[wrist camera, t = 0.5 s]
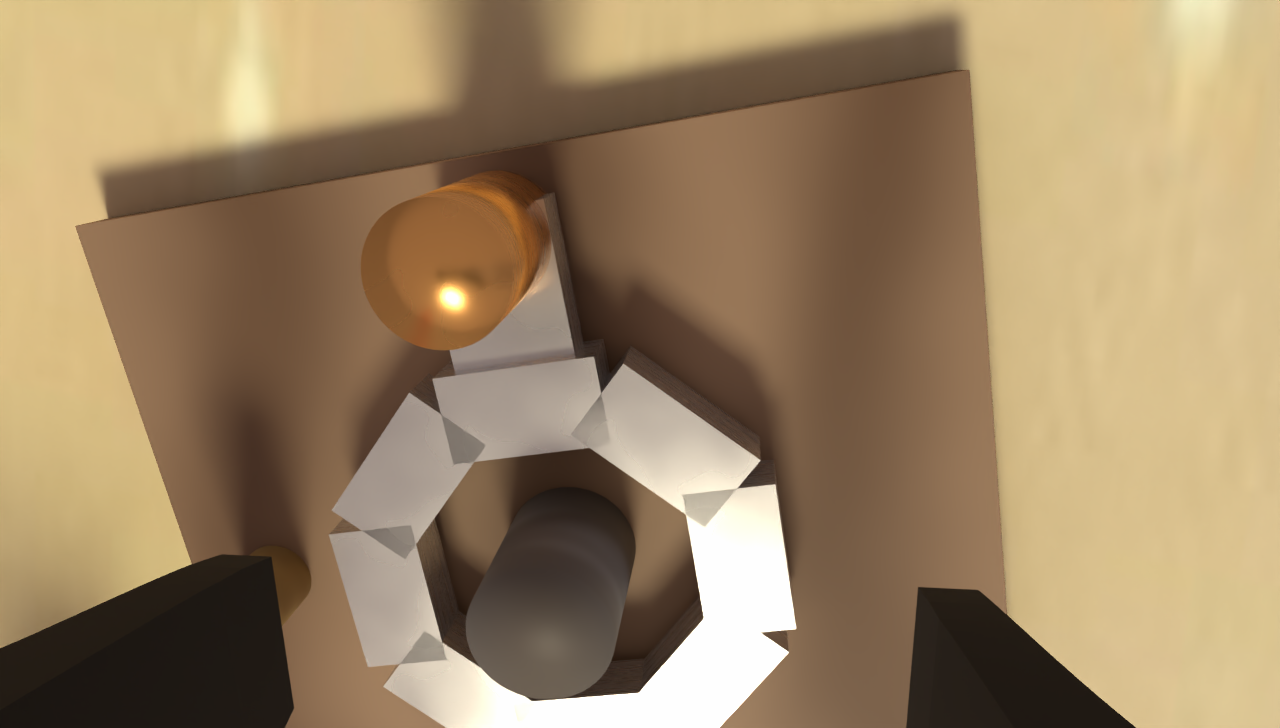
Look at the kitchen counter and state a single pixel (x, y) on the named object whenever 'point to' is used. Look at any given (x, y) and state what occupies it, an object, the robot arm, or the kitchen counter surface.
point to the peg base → (622, 316)
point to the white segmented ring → (535, 424)
